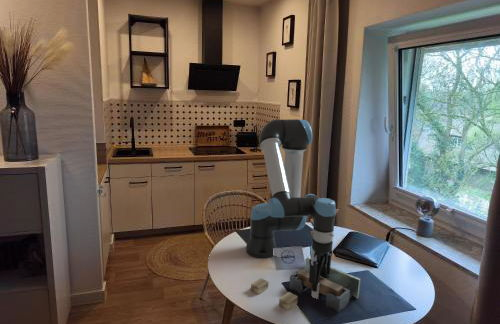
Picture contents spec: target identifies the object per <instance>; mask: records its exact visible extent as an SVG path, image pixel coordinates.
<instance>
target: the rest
mask: <svg viewBox="0 0 500 324" xmlns="http://www.w3.org/2000/svg"><path fill="white" fill-rule="evenodd" d="M269 284H270V283H269V281H268V280H265V279H264V278H262V277H260V278H258V279H257V280H255V281H254V282H251V284H250V291H251V292H253V293H255V294H256V295H260V294H262V293H264V292H265V291H267V290H268V289H269ZM297 304H298V295H296V294H294V293H292V292H290V291H288V292H287V293H285V294H284V295H282V296H281V297H280V298H279V299H278V305H279V307H281V308H283V309H284V310H286V311H290V309H291V308H293V307H294V306H296V305H297Z"/></svg>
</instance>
